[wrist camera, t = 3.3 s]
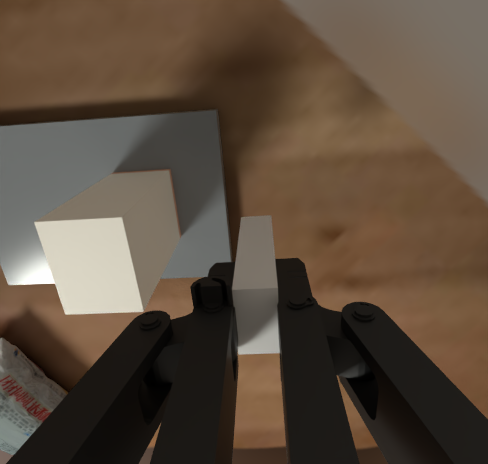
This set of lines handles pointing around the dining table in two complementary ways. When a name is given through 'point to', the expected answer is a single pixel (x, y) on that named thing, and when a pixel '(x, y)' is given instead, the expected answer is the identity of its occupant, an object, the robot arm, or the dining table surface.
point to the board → (103, 164)
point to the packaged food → (23, 397)
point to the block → (112, 242)
